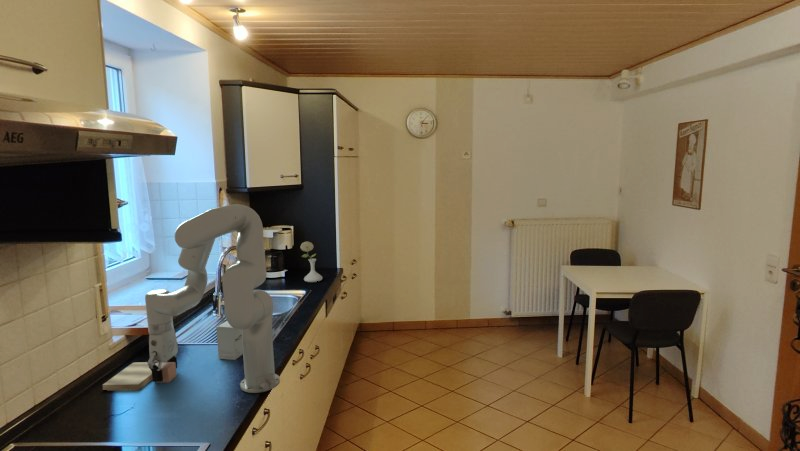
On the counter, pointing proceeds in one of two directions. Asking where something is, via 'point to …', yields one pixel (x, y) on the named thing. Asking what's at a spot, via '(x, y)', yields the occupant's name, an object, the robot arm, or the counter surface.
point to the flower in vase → (313, 275)
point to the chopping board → (130, 377)
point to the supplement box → (229, 342)
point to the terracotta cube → (168, 371)
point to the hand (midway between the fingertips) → (165, 374)
